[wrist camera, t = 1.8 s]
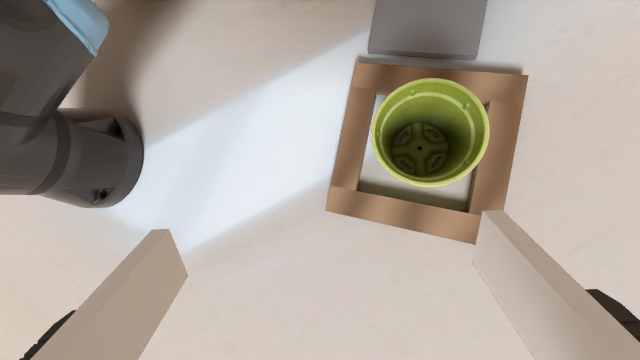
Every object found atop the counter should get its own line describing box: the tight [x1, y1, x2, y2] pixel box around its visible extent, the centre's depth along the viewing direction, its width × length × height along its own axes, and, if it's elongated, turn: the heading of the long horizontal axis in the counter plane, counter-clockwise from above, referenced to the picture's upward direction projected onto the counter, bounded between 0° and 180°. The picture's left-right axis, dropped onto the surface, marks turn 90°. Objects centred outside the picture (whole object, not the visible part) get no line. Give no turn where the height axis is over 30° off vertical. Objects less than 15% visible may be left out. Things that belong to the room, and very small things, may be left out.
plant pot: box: [371, 78, 490, 187], centre depth 28 cm, size 9×9×9 cm
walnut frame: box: [325, 62, 529, 245], centre depth 31 cm, size 18×18×2 cm
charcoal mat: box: [368, 0, 488, 60], centre depth 32 cm, size 12×12×1 cm
